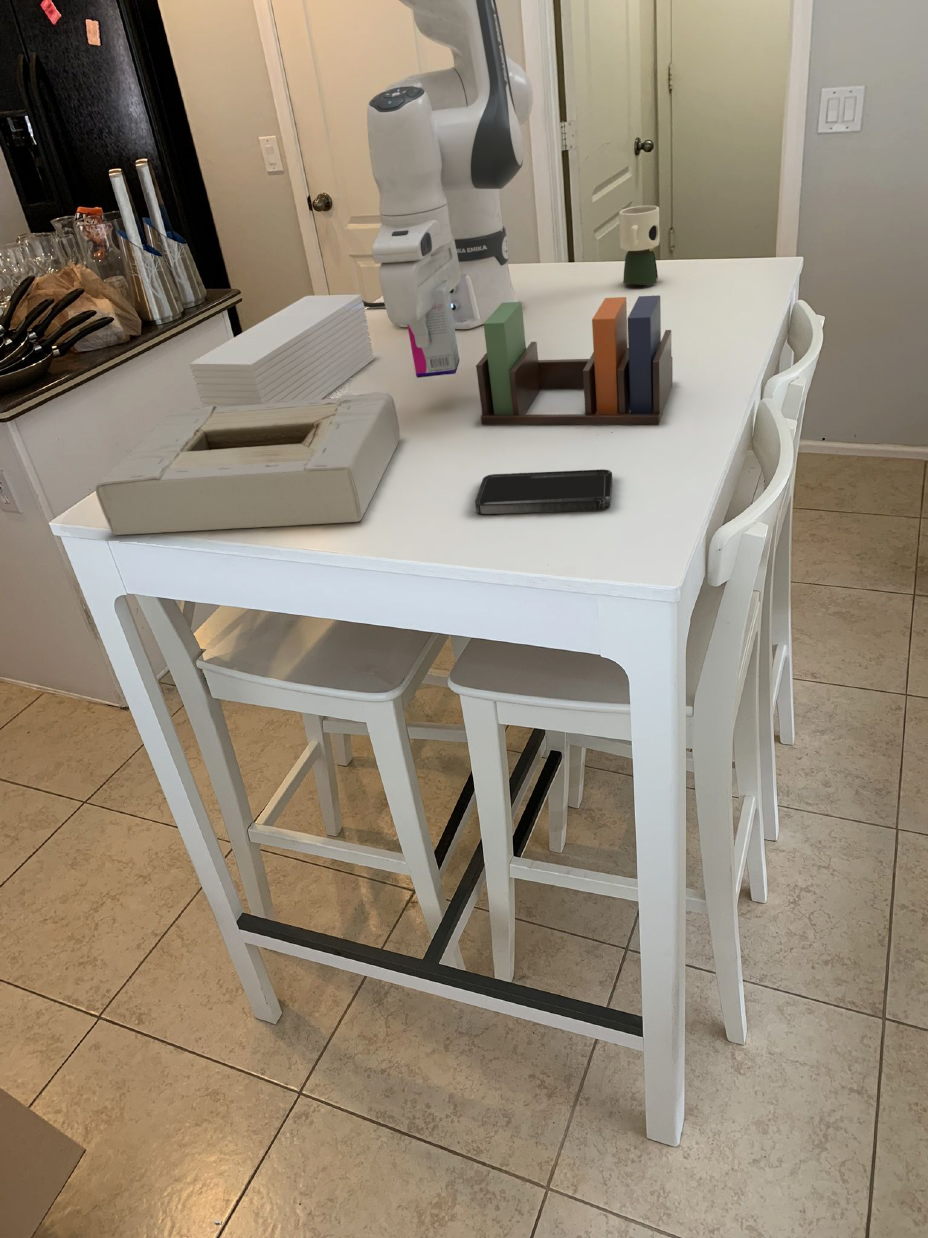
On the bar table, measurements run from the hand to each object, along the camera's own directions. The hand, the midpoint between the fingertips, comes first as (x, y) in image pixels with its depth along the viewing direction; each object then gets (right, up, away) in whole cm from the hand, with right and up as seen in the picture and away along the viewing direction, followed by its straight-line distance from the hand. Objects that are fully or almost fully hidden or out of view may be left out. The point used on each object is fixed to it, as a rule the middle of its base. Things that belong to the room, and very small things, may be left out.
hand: (433, 336), depth 126 cm
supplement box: (+1, -4, +3) cm, 5 cm away
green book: (+11, -9, +1) cm, 15 cm away
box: (-21, -22, -10) cm, 32 cm away
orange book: (+25, -10, -3) cm, 27 cm away
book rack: (+20, -10, -2) cm, 22 cm away
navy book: (+29, -11, -5) cm, 31 cm away
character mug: (+37, +23, +43) cm, 61 cm away
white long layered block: (-22, -4, +17) cm, 28 cm away
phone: (+13, -25, -23) cm, 37 cm away
